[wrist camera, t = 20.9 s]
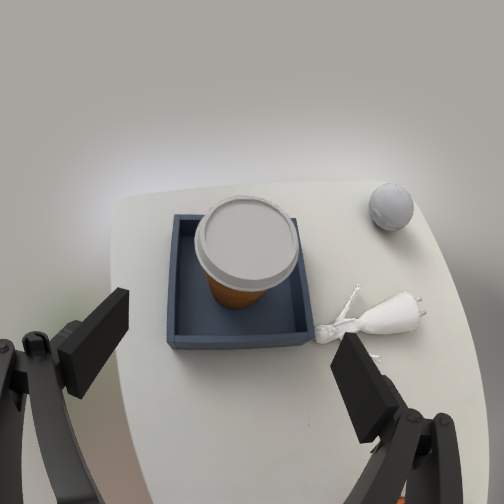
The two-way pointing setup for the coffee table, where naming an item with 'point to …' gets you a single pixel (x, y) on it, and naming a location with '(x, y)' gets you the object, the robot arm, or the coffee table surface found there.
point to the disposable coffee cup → (245, 249)
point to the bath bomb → (391, 206)
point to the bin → (228, 320)
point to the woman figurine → (375, 319)
